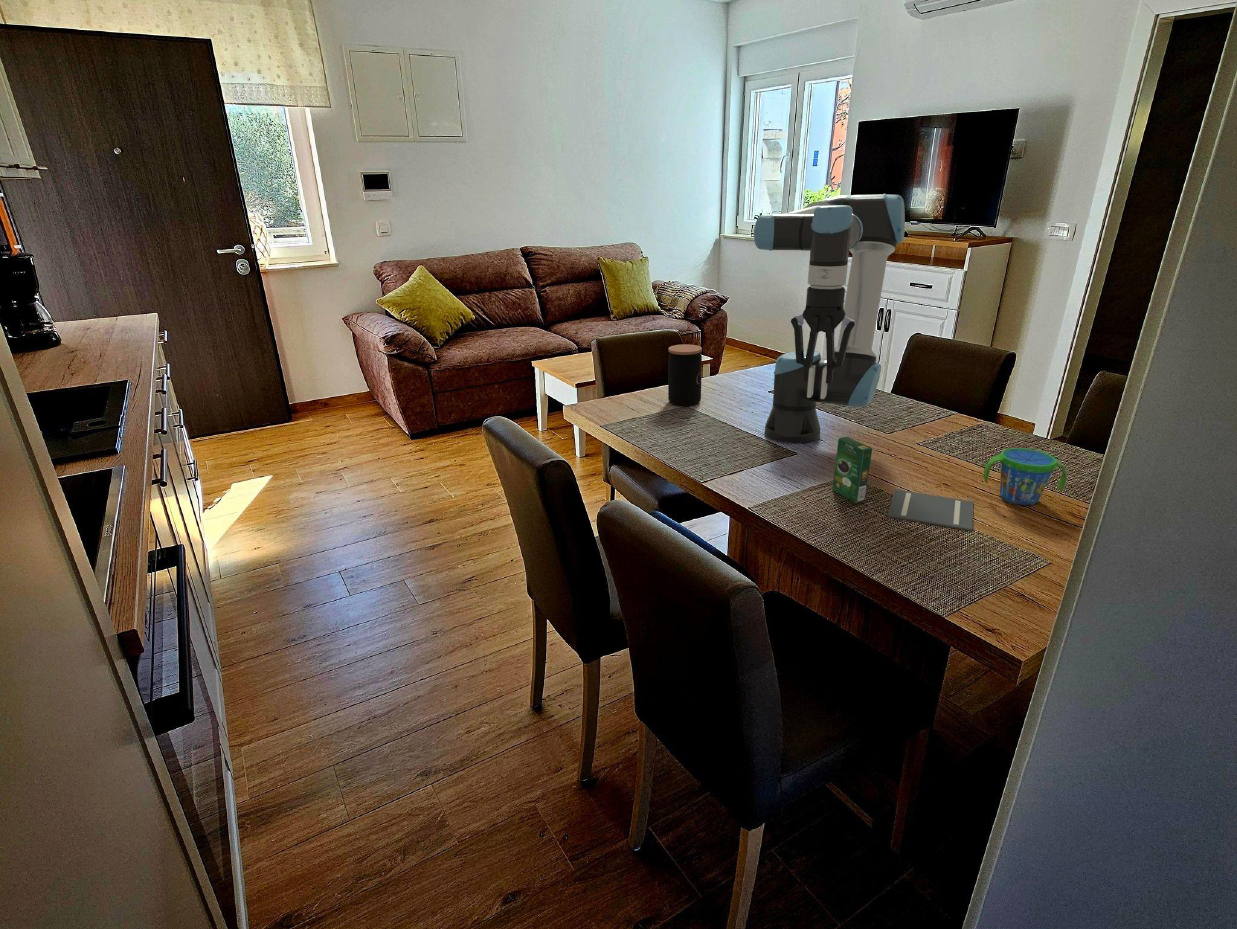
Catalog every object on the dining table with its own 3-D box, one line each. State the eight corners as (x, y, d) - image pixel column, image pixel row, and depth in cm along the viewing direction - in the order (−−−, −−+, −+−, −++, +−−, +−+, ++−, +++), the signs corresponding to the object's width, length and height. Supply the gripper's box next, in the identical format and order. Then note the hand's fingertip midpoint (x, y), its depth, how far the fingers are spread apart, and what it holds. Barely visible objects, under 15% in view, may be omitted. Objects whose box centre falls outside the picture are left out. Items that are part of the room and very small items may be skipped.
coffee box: (866, 502, 149) (873, 446, 143) (856, 504, 147) (863, 449, 142) (841, 488, 155) (847, 435, 150) (831, 491, 154) (837, 437, 149)
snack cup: (1055, 494, 149) (1066, 451, 146) (1065, 514, 140) (1076, 469, 137) (977, 485, 155) (985, 444, 151) (981, 504, 146) (990, 461, 142)
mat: (887, 516, 142) (887, 514, 142) (894, 490, 153) (895, 489, 153) (971, 531, 135) (972, 529, 135) (973, 503, 147) (973, 501, 146)
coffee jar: (702, 407, 214) (703, 351, 207) (669, 407, 215) (669, 352, 208) (699, 397, 224) (700, 343, 217) (667, 398, 224) (667, 344, 218)
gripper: (784, 287, 138) (777, 397, 147) (862, 290, 131) (850, 405, 140) (793, 282, 144) (785, 388, 153) (868, 284, 137) (855, 395, 146)
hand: (816, 396), depth 147 cm, fingers open, 2 cm apart
